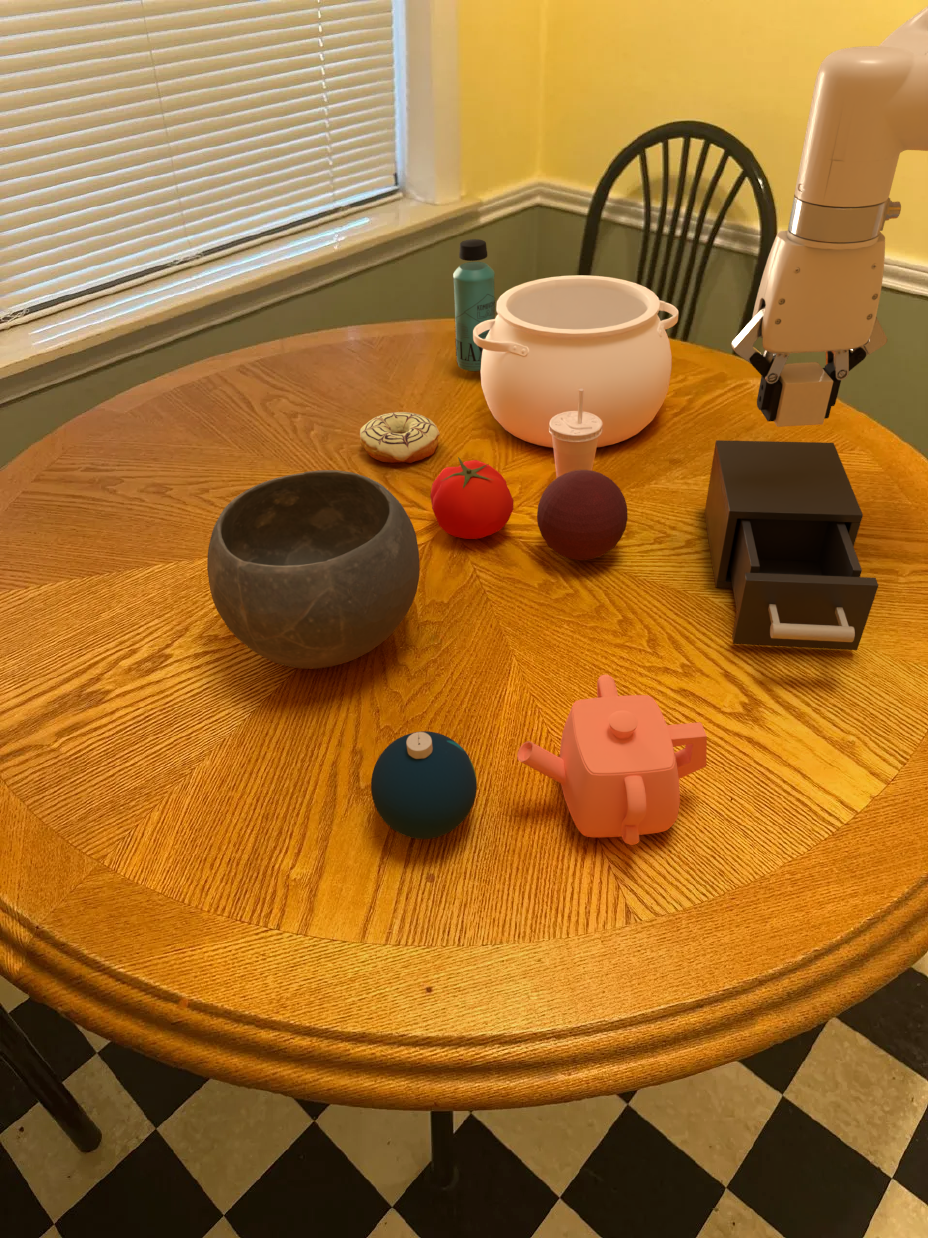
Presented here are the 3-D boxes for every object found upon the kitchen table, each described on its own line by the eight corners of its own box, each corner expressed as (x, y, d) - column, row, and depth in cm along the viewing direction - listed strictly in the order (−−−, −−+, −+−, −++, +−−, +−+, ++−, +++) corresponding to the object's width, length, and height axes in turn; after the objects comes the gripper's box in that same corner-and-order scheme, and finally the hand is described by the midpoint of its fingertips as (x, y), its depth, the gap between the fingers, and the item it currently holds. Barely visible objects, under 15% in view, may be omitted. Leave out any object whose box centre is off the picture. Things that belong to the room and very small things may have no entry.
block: (807, 404, 88) (817, 361, 85) (823, 424, 84) (833, 381, 81) (763, 406, 88) (771, 364, 85) (777, 426, 84) (786, 383, 81)
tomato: (456, 500, 109) (452, 440, 103) (529, 520, 104) (529, 459, 99) (416, 538, 102) (410, 477, 97) (492, 561, 98) (490, 498, 93)
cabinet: (840, 593, 91) (863, 515, 85) (715, 588, 93) (729, 510, 86) (814, 516, 102) (833, 442, 96) (704, 513, 104) (715, 439, 98)
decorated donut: (409, 476, 114) (406, 450, 111) (347, 456, 119) (343, 431, 116) (453, 442, 120) (452, 417, 118) (392, 425, 125) (390, 400, 123)
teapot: (512, 806, 72) (510, 727, 65) (601, 728, 78) (607, 648, 72) (626, 890, 65) (636, 810, 59) (713, 797, 71) (730, 716, 65)
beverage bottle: (448, 375, 138) (440, 244, 125) (472, 360, 142) (466, 232, 129) (482, 384, 134) (478, 250, 122) (505, 368, 139) (503, 238, 126)
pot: (502, 474, 113) (500, 353, 102) (456, 391, 133) (450, 283, 122) (704, 441, 117) (722, 322, 107) (630, 365, 137) (639, 259, 127)
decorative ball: (533, 529, 103) (534, 455, 96) (617, 525, 103) (623, 451, 96) (540, 580, 95) (541, 503, 89) (630, 576, 95) (638, 498, 89)
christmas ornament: (483, 855, 68) (478, 773, 62) (377, 865, 68) (361, 783, 61) (474, 773, 74) (469, 691, 68) (377, 782, 74) (363, 700, 68)
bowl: (413, 565, 98) (401, 447, 89) (439, 688, 83) (428, 562, 73) (233, 590, 96) (201, 472, 87) (226, 721, 81) (186, 595, 71)
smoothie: (578, 511, 105) (583, 405, 96) (537, 494, 109) (538, 390, 100) (608, 489, 109) (616, 385, 100) (568, 473, 112) (571, 371, 103)
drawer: (867, 680, 80) (890, 615, 74) (737, 673, 81) (751, 608, 76) (830, 566, 93) (847, 504, 88) (719, 562, 95) (730, 501, 89)
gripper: (915, 202, 77) (863, 393, 89) (726, 212, 77) (699, 401, 89) (954, 226, 71) (893, 427, 83) (749, 237, 71) (717, 436, 83)
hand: (793, 412), depth 86 cm, fingers closed on block, 4 cm apart
